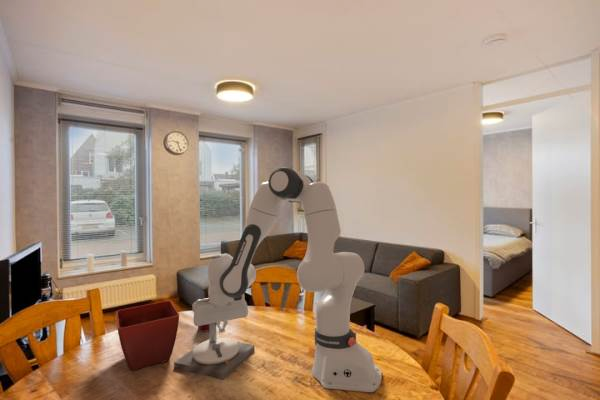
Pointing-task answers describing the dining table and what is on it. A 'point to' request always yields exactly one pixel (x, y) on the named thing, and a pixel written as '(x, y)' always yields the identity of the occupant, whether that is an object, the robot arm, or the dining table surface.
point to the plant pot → (147, 333)
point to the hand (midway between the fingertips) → (221, 332)
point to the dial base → (214, 369)
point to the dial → (215, 349)
